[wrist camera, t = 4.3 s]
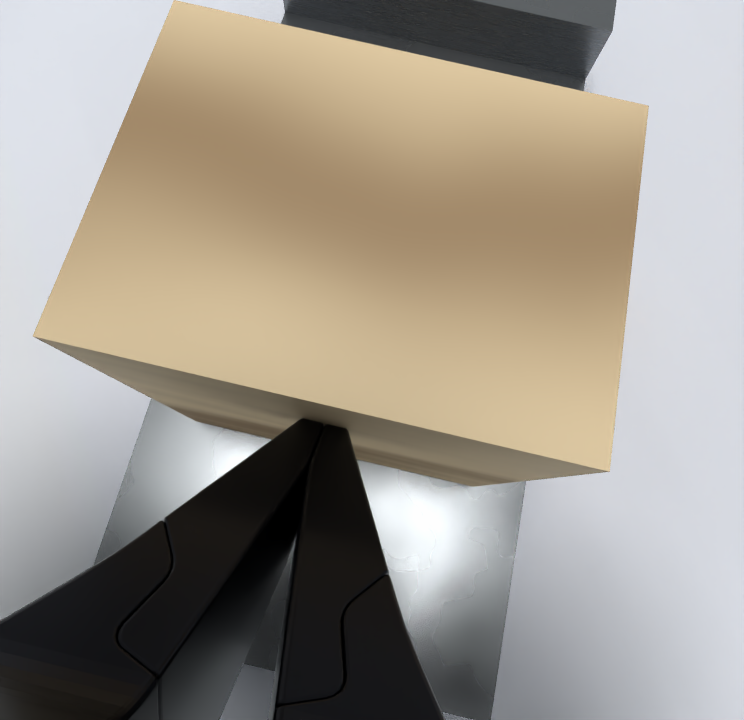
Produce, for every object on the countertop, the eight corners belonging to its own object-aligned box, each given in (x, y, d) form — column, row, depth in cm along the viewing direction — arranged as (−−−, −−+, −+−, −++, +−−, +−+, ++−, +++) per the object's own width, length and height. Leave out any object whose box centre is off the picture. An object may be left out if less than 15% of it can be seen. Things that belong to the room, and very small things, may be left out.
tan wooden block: (472, 486, 15) (609, 471, 7) (195, 421, 15) (32, 336, 7) (506, 292, 16) (648, 105, 9) (255, 234, 16) (173, 0, 9)
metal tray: (545, 718, 15) (603, 782, 12) (33, 593, 15) (-58, 620, 12) (623, 89, 21) (677, 8, 17) (250, 6, 21) (231, -90, 17)
